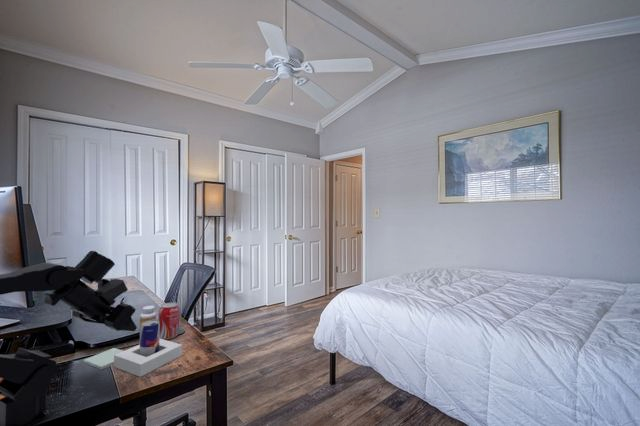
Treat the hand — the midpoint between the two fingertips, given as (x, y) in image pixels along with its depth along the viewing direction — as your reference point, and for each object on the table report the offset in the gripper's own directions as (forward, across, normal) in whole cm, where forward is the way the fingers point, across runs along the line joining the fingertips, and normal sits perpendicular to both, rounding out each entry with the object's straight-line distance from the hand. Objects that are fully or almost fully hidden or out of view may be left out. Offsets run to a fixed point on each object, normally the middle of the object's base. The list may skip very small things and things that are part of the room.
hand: (124, 326), depth 85 cm
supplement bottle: (+25, +20, -6) cm, 33 cm away
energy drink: (+15, 0, +4) cm, 16 cm away
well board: (+15, 0, +4) cm, 16 cm away
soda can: (+26, +10, -6) cm, 29 cm away
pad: (+12, +12, +8) cm, 18 cm away
